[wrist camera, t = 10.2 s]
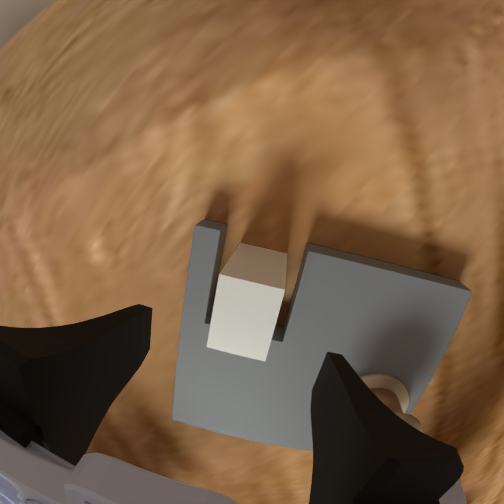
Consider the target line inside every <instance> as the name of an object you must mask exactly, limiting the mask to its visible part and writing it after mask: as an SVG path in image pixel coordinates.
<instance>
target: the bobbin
mask: <svg viewBox="0 0 504 504" xmlns="http://www.w3.org/2000/svg"><path fill="white" fill-rule="evenodd" d="M360 378H361V379H362V380H363V382H364V383H365V384H366V385H367V386H368V387H369V389H370V390H371V391H372V392H373V393H374V394H375V395H376V396H377V397H378V398H379V399H380V400H381V401H382V402H383V403H384V404H385V405H386V406H387V407H388V408H389V409H390V410H392V411H393V412H394V413H395V414H396V415H398V416H399V417H400V418H401V419H403V420H404V421H406V422H407V423H408V424H410V425H411V426H413V427H414V428H416V429H418V430H419V431H421V432H423V429H422V426H421V424H420V422H419V421H418V420H417V418H415V417H414V416H412V415H409V414H406V413H405V412H406V410H407V407H408V404H409V395H408V392H407V390H406V387H405V385H404V384H403V382H402V381H401V380H399V379H398V378H396V377H395V376H392V375H389V374H381V373H377V374H368V375H364V376H361V377H360ZM423 433H424V432H423Z"/></svg>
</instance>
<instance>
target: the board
mask: <svg viewBox="0 0 504 504" xmlns="http://www.w3.org/2000/svg"><path fill="white" fill-rule="evenodd" d="M227 225H228V224H224V223H219V222H215V221H210V220H206V219H204V220H203V221H201V222H199V223H198V224H196V225H195V229H194V235H193V242H192V248H191V255H190V262H189V268H188V275H187V283H186V290H185V297H184V305H183V313H182V321H181V330H180V339H179V348H178V357H177V367H176V378H175V389H174V401H173V414H172V420H175V421H178V422H182V423H185V424H188V425H192V426H195V427H198V428H202V429H206V430H209V431H213V432H217V433H221V434H225V435H229V436H233V437H237V438H242V439H246V440H251V441H256V442H261V443H266V444H271V445H277V446H283V447H289V448H295V449H302V450H309V451H313V441H312V427H311V411H310V409H311V395H312V388H313V386H314V383H315V381H316V379H317V376H318V374H319V371H320V369H321V366H322V364H323V361H324V359H325V356H326V353H327V352H332V353H337V354H342V355H343V356H344V358H345V359H346V360H347V361H348V363H349V364H350V365H351V366H352V368H353V369H354V370H355V372H356V373H357V374H358V375H359V377H361V376H364V375H368V374H377V373H381V374H389V375H392V376H395V377H396V378H398V379H399V380H401V381H402V382H403V384H404V385H405V387H406V390H407V392H408V395H409V404H408V407H407V410H406V412H405V413H406V414H409V415H410V413H411V412H412V410H413V408H414V407H415V405H416V404H417V402H418V400H419V399H420V397H421V395H422V394H423V392H424V390H425V389H426V387H427V385H428V383H429V382H430V380H431V378H432V376H433V375H434V373H435V371H436V369H437V367H438V365H439V363H440V361H441V360H442V358H443V356H444V354H445V352H446V350H447V348H448V346H449V344H450V342H451V339H452V337H453V335H454V333H455V331H456V329H457V326H458V324H459V322H460V320H461V317H462V315H463V313H464V310H465V308H466V306H467V303H468V301H469V298H470V296H471V293H472V291H471V290H469V289H468V288H467V287H466V286H464V285H463V284H462V283H461V282H459V281H456V280H453V279H449V278H445V277H441V276H438V275H434V274H430V273H426V272H422V271H418V270H415V269H411V268H407V267H403V266H399V265H395V264H391V263H387V262H383V261H379V260H375V259H371V258H367V257H363V256H359V255H355V254H351V253H347V252H343V251H339V250H335V249H331V248H327V247H323V246H318V245H314V244H310V243H307V244H306V248H305V251H304V255H303V259H302V263H301V267H300V271H299V274H298V278H297V282H296V285H295V289H294V293H293V296H292V300H291V303H290V307H289V311H288V314H287V318H286V321H285V324H284V327H281V326H277V325H275V329H274V332H273V336H272V340H271V343H270V347H269V350H268V354H267V357H266V361H260V360H256V359H252V358H248V357H243V356H239V355H235V354H231V353H227V352H223V351H220V350H216V349H212V348H208V347H207V341H208V335H209V329H210V323H211V318H212V312H213V310H212V307H213V301H214V296H215V290H216V284H217V279H218V273H219V268H220V262H221V257H222V251H223V246H224V241H225V235H226V230H227Z"/></svg>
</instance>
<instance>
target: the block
mask: <svg viewBox="0 0 504 504" xmlns="http://www.w3.org/2000/svg"><path fill="white" fill-rule="evenodd" d="M286 269H287V253H283V252H279V251H274V250H270V249H266V248H261V247H257V246H253V245H249V244H244V243H240V244H239V245H238V247H237V248H236V250H235V251H234V253H233V254H232V256H231V257H230V259H229V260H228V262H227V263H226V265H225V266H224V268H223V269H222V271H221V272H220V274H219V278H218V283H217V289H216V295H215V300H214V306H213V312H212V318H211V323H210V329H209V335H208V341H207V347H208V348H212V349H216V350H220V351H223V352H227V353H231V354H235V355H239V356H243V357H248V358H252V359H256V360H260V361H266V357H267V354H268V350H269V347H270V343H271V340H272V336H273V332H274V329H275V325H276V322H277V318H278V314H279V311H280V307H281V303H282V300H283V296H284V292H285V284H286Z"/></svg>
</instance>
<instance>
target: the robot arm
mask: <svg viewBox="0 0 504 504" xmlns="http://www.w3.org/2000/svg"><path fill="white" fill-rule="evenodd" d="M151 320H152V308H150V307H147V306H144V305H141V304H138V305H134V306H130V307H127V308H124V309H122V310H119V311H116V312H113V313H110V314H107V315H104V316H101V317H97V318H94V319H90V320H87V321H83V322H79V323H75V324H69V325H64V326H56V327H44V328H16V327H6V326H0V501H1V502H2V503H3V504H238V503H237V502H235V501H234V500H232V499H231V498H230V497H228V496H225V495H222V494H220V493H217V492H214V491H211V490H209V489H205V488H201V487H197V486H194V485H190V484H187V483H184V482H180V481H177V480H174V479H171V478H168V477H165V476H162V475H159V474H156V473H153V472H151V471H148V470H145V469H142V468H140V467H137V466H135V465H132V464H130V463H127V462H125V461H122V460H120V459H118V458H115V457H112V456H109V455H105V454H102V453H97V452H95V453H88V454H85V453H86V451H87V449H88V447H89V445H90V443H91V440H92V438H93V436H94V434H95V433H96V431H97V429H98V427H99V425H100V423H101V421H102V419H103V418H104V416H105V414H106V412H107V411H108V409H109V407H110V406H111V404H112V403H113V401H114V400H115V398H116V397H117V396H118V395H119V393H120V392H121V391H122V389H123V388H124V387H125V386H126V384H127V383H128V382H129V380H130V379H131V378H132V376H133V375H134V374H135V372H136V371H137V370H138V368H139V367H140V366H141V364H142V362H143V360H144V359H145V357H146V355H147V353H148V351H149V349H150V336H151ZM310 411H311V427H312V441H313V473H312V484H311V493H310V501H309V504H467V500H466V496H465V493H464V490H463V487H462V485H461V482H460V479H459V478H460V476H461V474H462V472H463V467H464V466H463V464H462V461H461V459H460V456H459V454H458V452H457V449H456V448H454V447H452V446H450V445H447V444H445V443H443V442H440V441H438V440H436V439H434V438H432V437H430V436H428V435H426V434H424V433H423V432H421V431H419V430H418V429H416V428H414V427H413V426H411V425H410V424H408V423H407V422H406V421H404V420H403V419H401V418H400V417H399V416H398V415H396V414H395V413H394V412H393V411H392V410H390V409H389V408H388V407H387V406H386V405H385V404H384V403H383V402H382V401H381V400H380V399H379V398H378V397H377V396H376V395H375V394H374V393H373V392H372V391H371V390H370V389H369V387H368V386H367V385H366V384H365V383H364V382H363V380H362V379H361V378H360V377H359V375H358V374H357V373H356V372H355V370H354V369H353V368H352V366H351V365H350V364H349V363H348V361H347V360H346V359H345V358H344V356H343V355H342V354H337V353H332V352H327V353H326V356H325V359H324V361H323V364H322V366H321V369H320V371H319V374H318V376H317V379H316V381H315V383H314V386H313V388H312V395H311V409H310Z"/></svg>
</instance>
